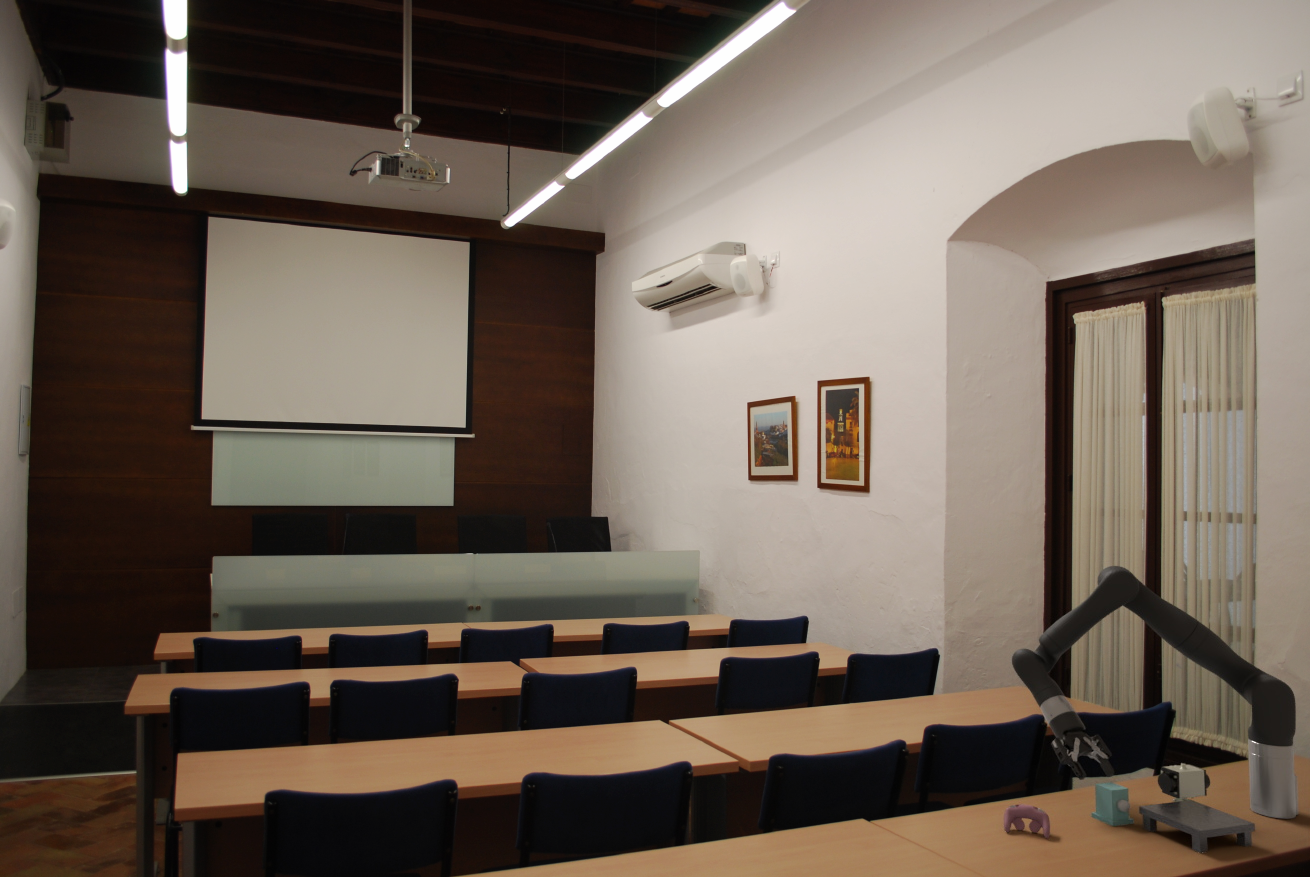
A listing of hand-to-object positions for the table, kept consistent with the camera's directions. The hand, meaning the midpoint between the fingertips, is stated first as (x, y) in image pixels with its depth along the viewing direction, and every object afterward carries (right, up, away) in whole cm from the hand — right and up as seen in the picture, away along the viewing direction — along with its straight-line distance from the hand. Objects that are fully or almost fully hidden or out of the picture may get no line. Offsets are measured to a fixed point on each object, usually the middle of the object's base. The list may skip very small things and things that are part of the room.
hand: (1097, 776), depth 216 cm
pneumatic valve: (+22, -9, +1) cm, 23 cm away
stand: (+15, -8, -15) cm, 23 cm away
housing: (+1, -9, -5) cm, 10 cm away
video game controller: (-23, -8, -13) cm, 28 cm away
